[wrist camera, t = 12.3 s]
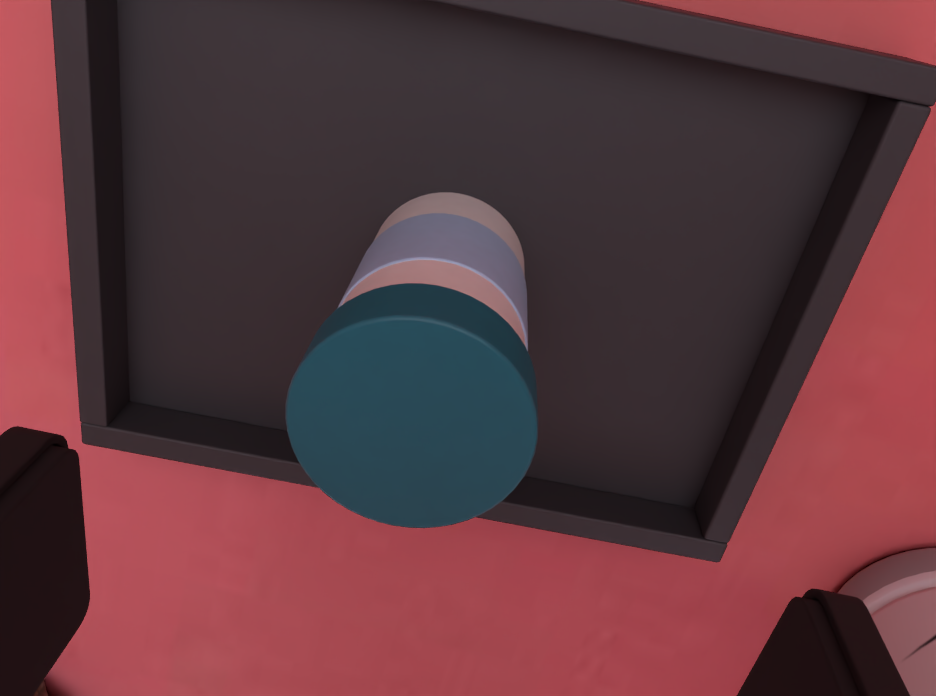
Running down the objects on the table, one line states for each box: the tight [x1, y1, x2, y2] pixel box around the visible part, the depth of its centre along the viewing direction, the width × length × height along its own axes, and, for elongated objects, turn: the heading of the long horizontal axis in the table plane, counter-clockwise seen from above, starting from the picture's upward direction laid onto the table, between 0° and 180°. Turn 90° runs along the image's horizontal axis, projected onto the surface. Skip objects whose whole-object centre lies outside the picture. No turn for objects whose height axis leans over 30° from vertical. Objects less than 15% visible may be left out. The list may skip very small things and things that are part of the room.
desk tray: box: [51, 0, 936, 562], centre depth 20 cm, size 15×20×2 cm
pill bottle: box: [285, 192, 538, 528], centre depth 17 cm, size 5×5×8 cm
